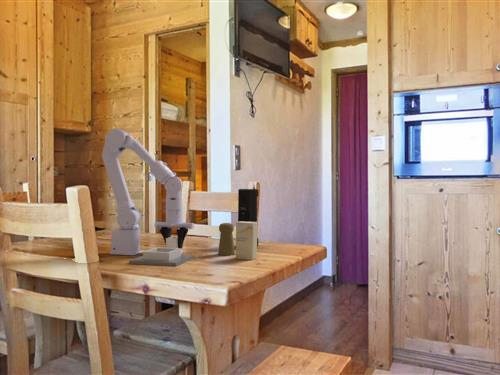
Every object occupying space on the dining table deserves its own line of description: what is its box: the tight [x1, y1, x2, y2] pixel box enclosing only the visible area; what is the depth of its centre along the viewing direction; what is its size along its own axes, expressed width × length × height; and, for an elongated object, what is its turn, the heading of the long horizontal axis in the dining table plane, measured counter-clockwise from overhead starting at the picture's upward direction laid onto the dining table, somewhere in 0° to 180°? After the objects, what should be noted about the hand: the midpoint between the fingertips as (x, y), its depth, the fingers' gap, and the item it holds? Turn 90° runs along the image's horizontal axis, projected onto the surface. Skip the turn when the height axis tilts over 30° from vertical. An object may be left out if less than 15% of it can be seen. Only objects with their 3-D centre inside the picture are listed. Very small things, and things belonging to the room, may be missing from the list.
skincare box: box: [235, 221, 258, 261], centre depth 142 cm, size 6×4×12 cm
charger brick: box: [165, 236, 183, 254], centre depth 154 cm, size 4×5×6 cm
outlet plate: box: [128, 246, 195, 267], centre depth 138 cm, size 16×14×4 cm
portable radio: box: [237, 186, 259, 248], centre depth 168 cm, size 8×6×25 cm
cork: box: [217, 222, 236, 257], centre depth 151 cm, size 6×6×11 cm
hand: (174, 248), depth 154 cm, fingers closed on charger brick, 4 cm apart
